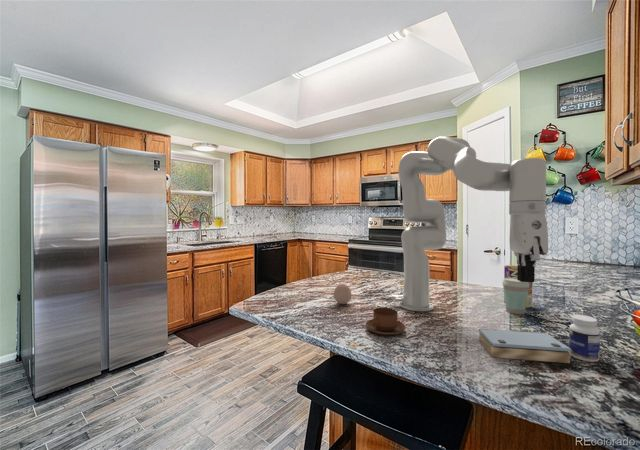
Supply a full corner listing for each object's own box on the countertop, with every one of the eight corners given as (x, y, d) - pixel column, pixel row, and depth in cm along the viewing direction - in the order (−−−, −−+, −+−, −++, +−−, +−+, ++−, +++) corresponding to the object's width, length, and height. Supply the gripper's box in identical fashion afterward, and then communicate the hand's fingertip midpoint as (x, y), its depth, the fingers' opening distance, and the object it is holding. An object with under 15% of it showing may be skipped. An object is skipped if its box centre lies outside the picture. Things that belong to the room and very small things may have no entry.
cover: (493, 346, 74) (492, 342, 74) (478, 331, 85) (478, 327, 85) (570, 351, 71) (570, 347, 71) (545, 335, 82) (545, 331, 82)
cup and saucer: (398, 342, 84) (398, 320, 84) (359, 333, 91) (359, 313, 91) (409, 328, 94) (410, 309, 94) (374, 321, 101) (374, 303, 101)
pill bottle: (563, 352, 77) (563, 314, 77) (583, 351, 77) (584, 313, 77) (584, 363, 71) (584, 322, 71) (606, 362, 72) (607, 321, 71)
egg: (345, 307, 116) (345, 286, 116) (330, 304, 120) (330, 284, 120) (354, 303, 122) (354, 283, 121) (340, 300, 126) (340, 281, 126)
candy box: (533, 306, 115) (533, 267, 115) (526, 308, 113) (527, 268, 113) (509, 301, 123) (510, 264, 123) (503, 302, 121) (503, 265, 121)
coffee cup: (534, 316, 105) (534, 282, 104) (507, 314, 106) (507, 281, 106) (522, 308, 113) (523, 277, 113) (498, 307, 115) (498, 276, 114)
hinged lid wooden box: (492, 357, 75) (492, 347, 74) (479, 340, 84) (479, 332, 84) (569, 363, 71) (569, 352, 71) (546, 345, 81) (546, 336, 81)
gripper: (561, 207, 66) (560, 289, 67) (528, 209, 81) (527, 276, 82) (524, 208, 68) (523, 287, 68) (498, 209, 82) (497, 275, 83)
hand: (525, 281), depth 75 cm, fingers closed
